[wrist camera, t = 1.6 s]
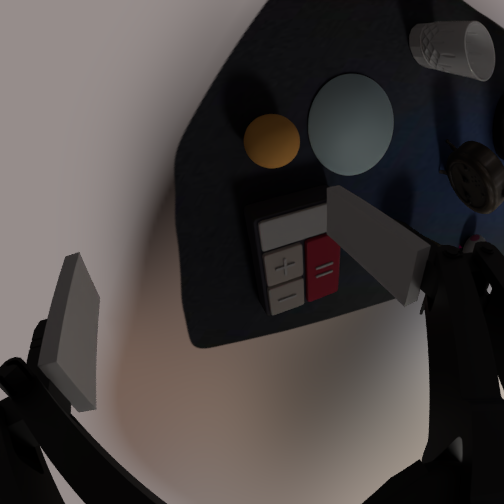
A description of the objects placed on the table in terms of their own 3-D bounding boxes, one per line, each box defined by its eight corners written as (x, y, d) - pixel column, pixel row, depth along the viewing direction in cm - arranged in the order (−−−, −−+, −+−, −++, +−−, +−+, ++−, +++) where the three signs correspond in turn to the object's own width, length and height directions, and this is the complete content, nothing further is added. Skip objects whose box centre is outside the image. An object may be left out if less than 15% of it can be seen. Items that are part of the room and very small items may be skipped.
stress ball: (455, 250, 61) (479, 259, 58) (452, 267, 56) (479, 277, 52) (464, 221, 57) (490, 230, 54) (464, 236, 52) (491, 247, 48)
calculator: (269, 321, 41) (255, 223, 32) (257, 300, 45) (242, 205, 36) (341, 293, 43) (346, 197, 34) (326, 275, 47) (327, 183, 38)
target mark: (384, 67, 32) (385, 67, 31) (396, 158, 39) (397, 159, 39) (296, 85, 30) (296, 85, 30) (319, 188, 37) (320, 189, 37)
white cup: (397, 26, 29) (457, 26, 21) (430, 15, 29) (485, 16, 21) (416, 78, 34) (474, 89, 25) (445, 62, 33) (499, 72, 25)
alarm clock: (458, 183, 46) (530, 223, 33) (441, 199, 46) (514, 244, 33) (449, 130, 40) (533, 164, 26) (430, 145, 40) (518, 184, 27)
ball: (278, 105, 31) (302, 110, 26) (290, 151, 34) (314, 163, 29) (230, 120, 30) (247, 128, 26) (245, 168, 33) (263, 183, 29)
